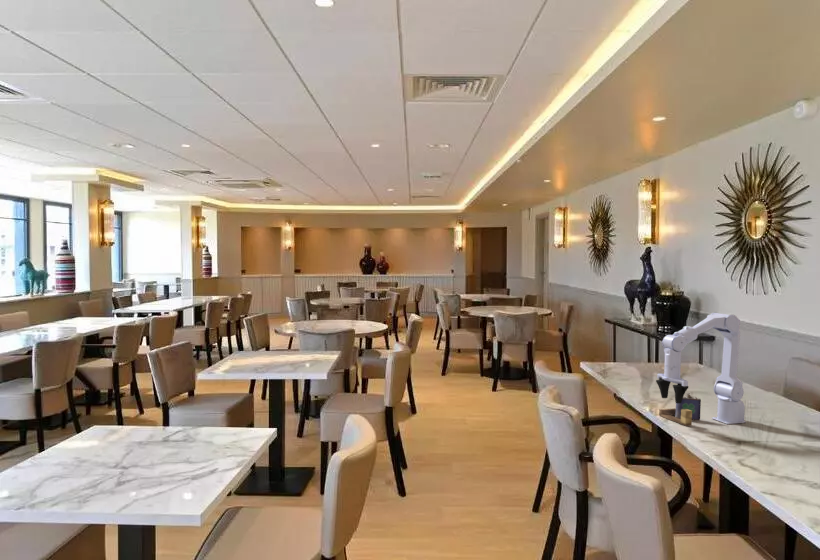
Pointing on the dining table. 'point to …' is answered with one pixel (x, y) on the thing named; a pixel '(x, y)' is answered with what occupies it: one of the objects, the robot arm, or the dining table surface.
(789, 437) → the dining table surface
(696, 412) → the flask
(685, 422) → the wooden t-shaped handle
